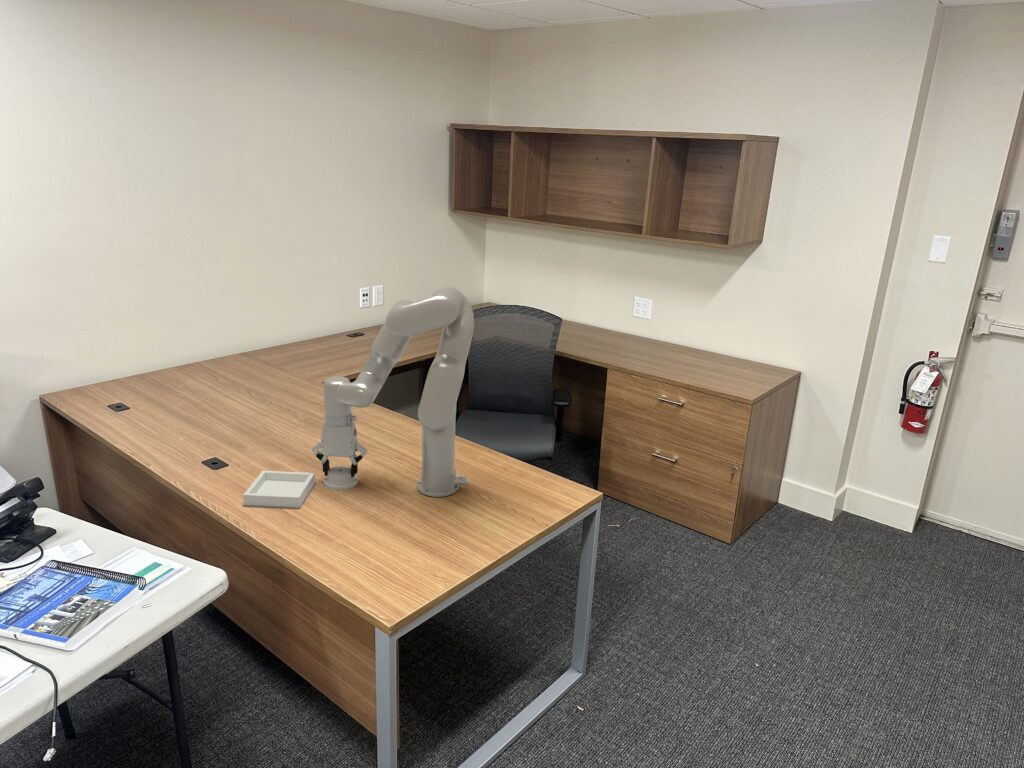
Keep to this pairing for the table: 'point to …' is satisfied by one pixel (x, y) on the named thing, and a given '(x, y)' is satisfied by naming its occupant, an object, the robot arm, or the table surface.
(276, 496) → the tray
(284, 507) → the grey flat plate
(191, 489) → the table surface
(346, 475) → the mechanical component
